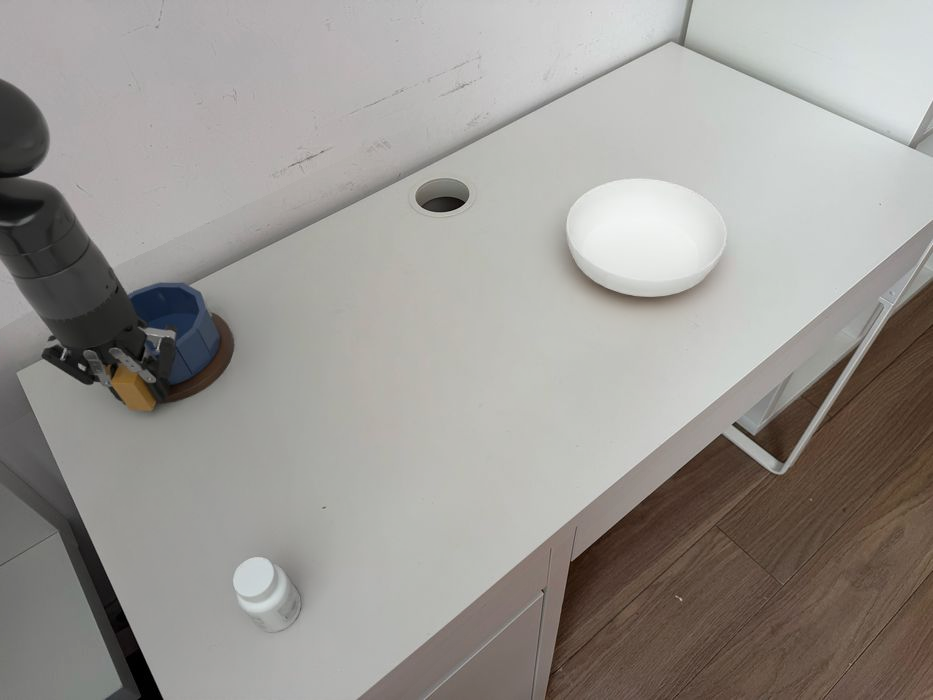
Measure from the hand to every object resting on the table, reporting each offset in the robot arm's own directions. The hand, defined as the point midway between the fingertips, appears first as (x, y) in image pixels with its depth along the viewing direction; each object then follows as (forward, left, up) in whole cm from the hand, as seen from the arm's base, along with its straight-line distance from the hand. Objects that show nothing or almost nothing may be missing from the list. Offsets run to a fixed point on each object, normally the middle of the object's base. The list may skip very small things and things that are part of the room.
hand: (147, 396), depth 77 cm
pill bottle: (+2, -30, -2) cm, 30 cm away
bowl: (+60, -17, -2) cm, 62 cm away
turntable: (+5, +6, -2) cm, 8 cm away
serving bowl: (+4, +4, -1) cm, 6 cm away
